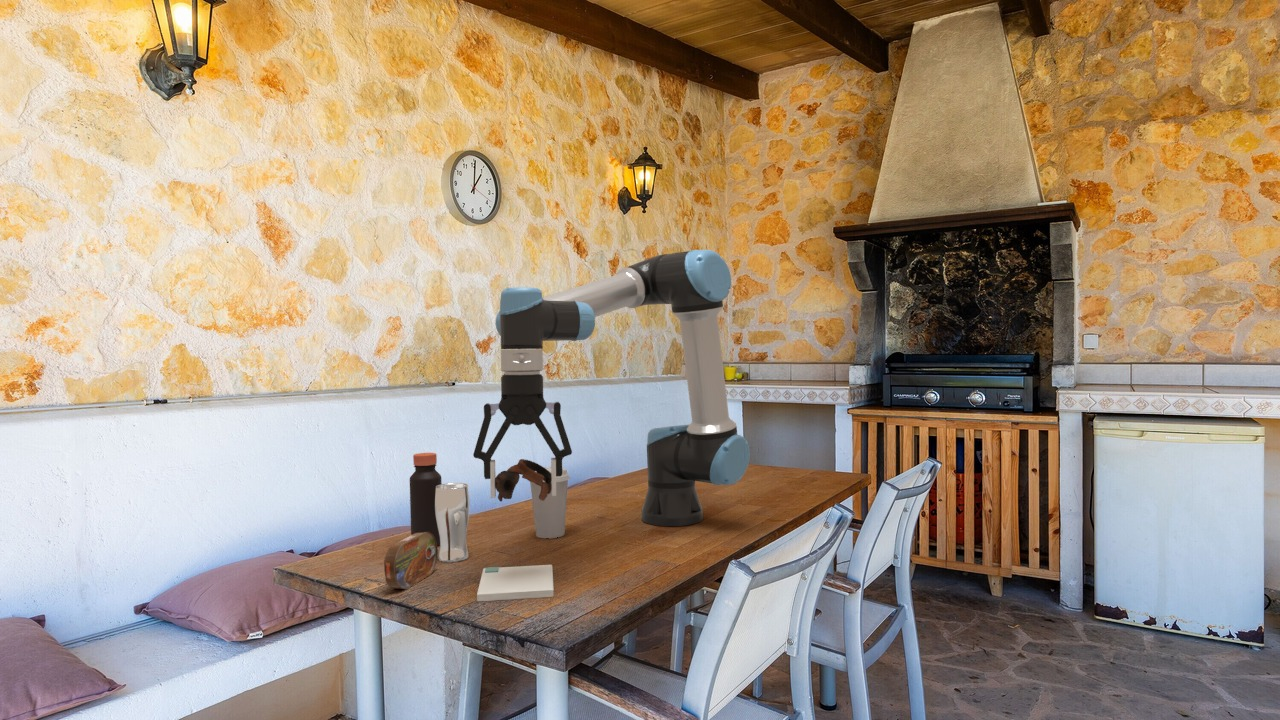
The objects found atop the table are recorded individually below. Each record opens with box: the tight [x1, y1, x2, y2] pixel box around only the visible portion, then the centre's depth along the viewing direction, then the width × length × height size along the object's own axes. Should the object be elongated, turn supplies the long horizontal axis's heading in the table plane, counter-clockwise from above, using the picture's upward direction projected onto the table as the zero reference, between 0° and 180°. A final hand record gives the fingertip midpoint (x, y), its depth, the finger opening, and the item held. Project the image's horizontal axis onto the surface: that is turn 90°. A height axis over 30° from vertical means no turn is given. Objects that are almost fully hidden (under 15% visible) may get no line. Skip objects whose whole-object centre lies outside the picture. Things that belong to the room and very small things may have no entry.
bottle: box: [409, 452, 443, 547], centre depth 165 cm, size 7×7×20 cm
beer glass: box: [435, 482, 471, 563], centre depth 154 cm, size 7×7×15 cm
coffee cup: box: [529, 466, 571, 539], centre depth 171 cm, size 10×10×15 cm
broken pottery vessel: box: [495, 458, 552, 502], centre depth 137 cm, size 12×10×8 cm
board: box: [476, 564, 555, 602], centre depth 136 cm, size 13×15×2 cm
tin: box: [383, 532, 439, 590], centre depth 139 cm, size 15×3×8 cm, turn 166°
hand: (523, 495), depth 136 cm, fingers closed on broken pottery vessel, 10 cm apart
